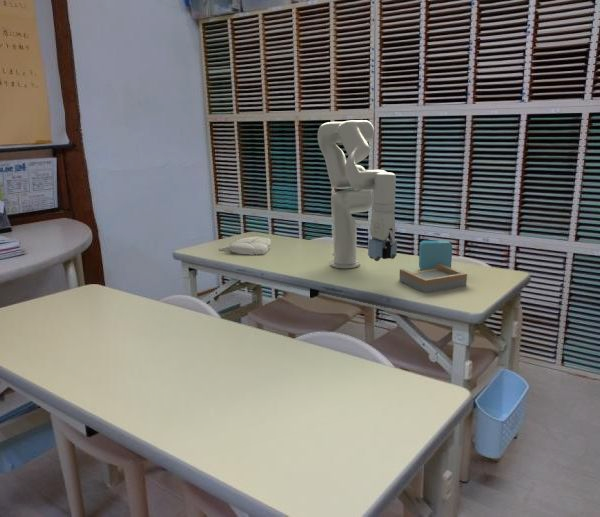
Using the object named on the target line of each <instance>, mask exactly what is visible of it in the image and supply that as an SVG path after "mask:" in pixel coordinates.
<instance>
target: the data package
mask: <svg viewBox="0 0 600 517" xmlns="http://www.w3.org/2000/svg"><path fill="white" fill-rule="evenodd" d="M418 252H419V253H418V254H419V255H418V256H419V258H418V268H419V270H420V271H424V270H431V269H436V264H438V263H439V264H442V265H445V266H447V267H450V268H452V258H453V245H452V243H450V241H449V240H422V241H420V243H419V251H418Z"/></svg>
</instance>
